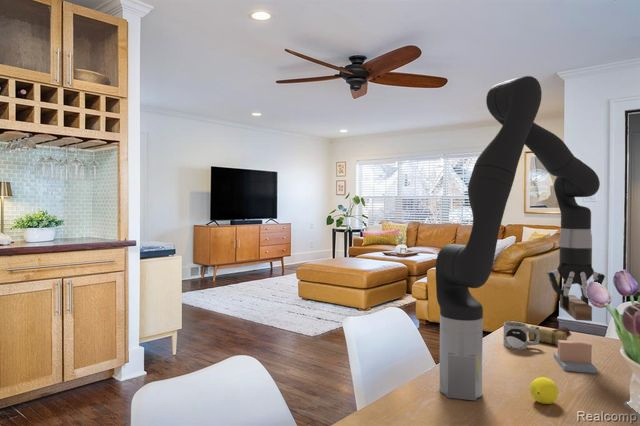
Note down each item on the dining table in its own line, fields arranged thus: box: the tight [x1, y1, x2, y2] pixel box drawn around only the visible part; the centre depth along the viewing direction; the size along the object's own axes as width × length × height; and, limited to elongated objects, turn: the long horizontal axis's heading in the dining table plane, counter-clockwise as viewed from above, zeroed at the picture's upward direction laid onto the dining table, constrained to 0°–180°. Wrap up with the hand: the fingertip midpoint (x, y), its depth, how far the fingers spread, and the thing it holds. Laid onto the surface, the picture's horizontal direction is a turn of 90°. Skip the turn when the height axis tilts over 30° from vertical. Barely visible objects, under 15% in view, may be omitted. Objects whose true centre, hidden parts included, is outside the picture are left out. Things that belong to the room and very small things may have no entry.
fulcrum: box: [553, 340, 598, 374], centre depth 120 cm, size 11×8×6 cm
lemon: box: [529, 376, 559, 405], centre depth 96 cm, size 7×5×5 cm
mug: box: [502, 321, 540, 351], centre depth 135 cm, size 10×7×7 cm
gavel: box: [527, 325, 570, 347], centre depth 145 cm, size 21×5×10 cm
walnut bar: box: [559, 294, 593, 322], centre depth 119 cm, size 16×4×4 cm, turn 165°
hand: (574, 310), depth 120 cm, fingers closed on walnut bar, 3 cm apart
